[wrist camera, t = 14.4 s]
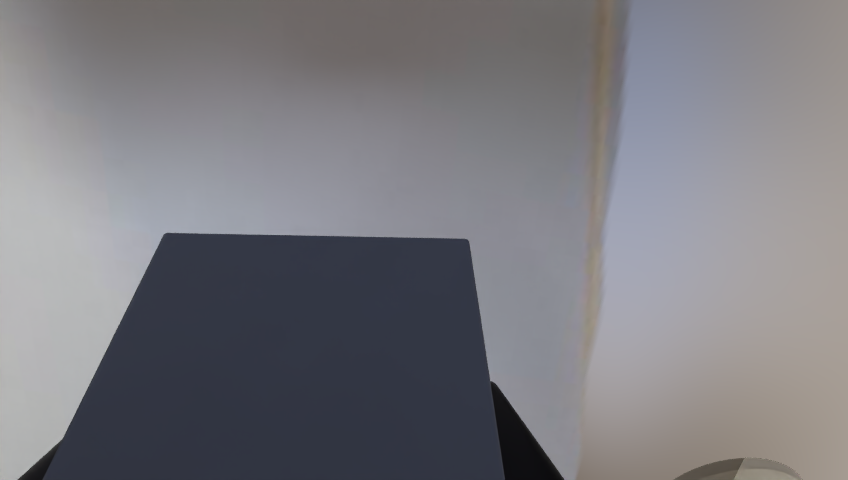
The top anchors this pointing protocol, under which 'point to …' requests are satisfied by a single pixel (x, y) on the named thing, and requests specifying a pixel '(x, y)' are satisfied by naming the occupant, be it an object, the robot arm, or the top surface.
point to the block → (292, 366)
